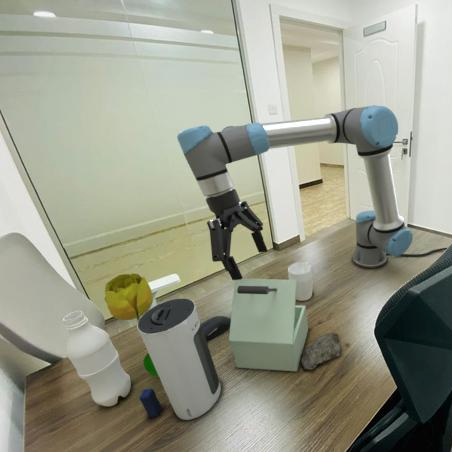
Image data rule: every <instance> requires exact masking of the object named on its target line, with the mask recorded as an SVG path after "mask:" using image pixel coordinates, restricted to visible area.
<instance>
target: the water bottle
mask: <svg viewBox="0 0 452 452" xmlns="http://www.w3.org/2000/svg"><path fill="white" fill-rule="evenodd" d="M62 321H63V322H64V324H65V330H66V331H68V338H67V342H66V347H65V353H66V357H67V359H69V360H70V362H71V363H72V364H71V365H72V366H73V367H74V368H75V370H76V374H77V376H78V377H79V378H80V379H81V380H83V381H85V382H86V384H87V385H88V387H89V389H90V394H91V399H92V400H93V402H94V403H95V404H96V405H100V406H103V407H112V406H115V405H116V404H118V401H119V397H122V398H126V397H127V396H128V395H129V393H130V392H131V386H132V382H131V377H130V375H129V374H128V373H127V372H126V371H125V370H124V369H123V367H122V364H121V361H120V353H119V352H118V350H117V349H116V348H115V345H114V344H113V342H112V340H111V338H110V337H111V336H110V334H109V333H108V332H107V331H106V330H104V329H102V328H100V327H97V326H95V325H93V324H91V323H90V322H89V318H88V317H87V316H85V314H84V312H83V311H82V310H75V311H72V312H70V313H68V314H66V315H65V316H63V318H62Z"/></svg>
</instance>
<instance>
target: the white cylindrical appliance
mask: <svg viewBox="0 0 452 452" xmlns="http://www.w3.org/2000/svg"><path fill="white" fill-rule="evenodd" d="M201 324H202V322H201V319H200V317H199V313H198V309H197V307H196V303H195V302H194V300H192V299H190V298H186V297H179V298H178V297H177V298H173V299H169V300H165V301H162V302H160V303H158V304H155V305H154V306H152V307H150V309H149V310H148V311H147V312H146V313H144V314H143V315H142V316H141V317H140V319H139V321H138V320H137V325H136V328H137V330H138V333H139V334H140V336H141V337H140V338H141V339H142V341H143V344H144V346H145V348H146V350H147V353H149V355H150V357H151V360H152V362H153V364H154V366H155V369H156V371H157V373H158V376H157V377H158V378H159V380H160V382H161V385H162V387H163V390H164V391H165V394H166V396H167V399H168V400H169V403H170V404H171V407H172V409H173V411H174V413H175V415H176V416H177V417H178V418H179V419H180V420H183V421H190V420H193V419H196V418H199V417H201V416H203V415H205V414H206V413H207V412H208V411H210V410H211V409H212V408H213V407H214V405H215V404H216V403H217V401H218V400H219V399H220V395H221V392H222V385H221V382H220V379H219V376H218V373H217V370H216V367H215V363H214V360H213V357H212V354H211V351H210V347H209V344H208V340H207V341H206V338H205V335H204V332H203V328H202V325H201Z"/></svg>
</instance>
